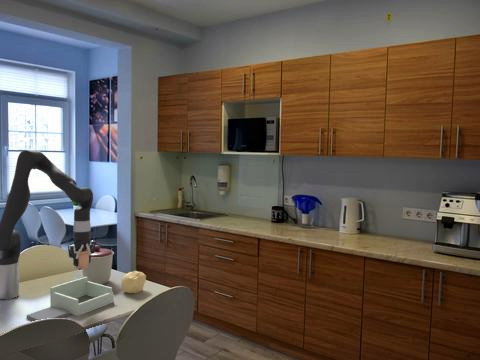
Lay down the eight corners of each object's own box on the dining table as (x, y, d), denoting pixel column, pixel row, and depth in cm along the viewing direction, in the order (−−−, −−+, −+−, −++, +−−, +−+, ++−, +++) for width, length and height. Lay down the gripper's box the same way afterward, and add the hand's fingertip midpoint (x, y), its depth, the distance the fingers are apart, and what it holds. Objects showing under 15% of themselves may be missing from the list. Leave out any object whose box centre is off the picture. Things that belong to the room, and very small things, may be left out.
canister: (74, 281, 224) (74, 244, 223) (105, 275, 237) (105, 240, 235) (87, 290, 211) (87, 250, 210) (119, 283, 223) (119, 246, 222)
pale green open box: (50, 306, 189) (50, 287, 188) (86, 293, 206) (86, 276, 205) (78, 315, 178) (78, 296, 178) (113, 302, 196) (113, 283, 195)
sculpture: (137, 296, 203) (137, 275, 203) (116, 293, 207) (116, 273, 207) (149, 289, 214) (149, 269, 214) (129, 286, 218) (129, 267, 217)
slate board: (26, 318, 175) (26, 315, 175) (51, 309, 185) (51, 306, 185) (43, 325, 169) (43, 321, 168) (68, 315, 179) (68, 312, 179)
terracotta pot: (72, 267, 190) (71, 250, 189) (83, 264, 195) (83, 248, 195) (80, 269, 187) (80, 252, 186) (92, 266, 192) (92, 250, 191)
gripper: (89, 226, 198) (89, 260, 199) (63, 231, 185) (63, 266, 187) (99, 228, 194) (99, 262, 195) (73, 233, 182) (74, 269, 183)
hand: (82, 264), depth 191 cm, fingers closed on terracotta pot, 6 cm apart
